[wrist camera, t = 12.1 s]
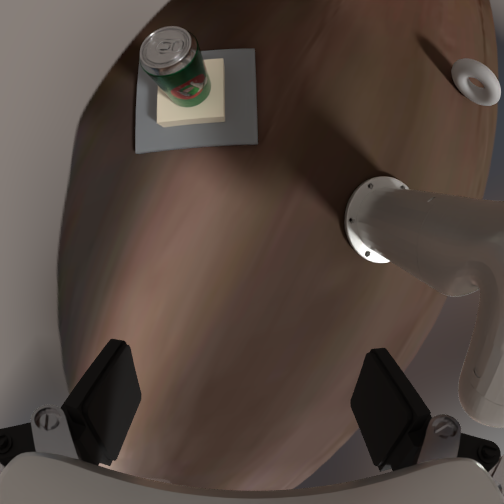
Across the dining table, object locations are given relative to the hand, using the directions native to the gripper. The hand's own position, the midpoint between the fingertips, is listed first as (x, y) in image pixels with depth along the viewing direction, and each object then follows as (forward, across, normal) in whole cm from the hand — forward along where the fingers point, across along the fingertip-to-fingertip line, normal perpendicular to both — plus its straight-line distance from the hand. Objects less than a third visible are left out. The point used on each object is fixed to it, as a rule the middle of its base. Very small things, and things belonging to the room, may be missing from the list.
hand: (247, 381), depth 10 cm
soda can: (+24, +8, -18) cm, 31 cm away
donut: (+29, -36, -30) cm, 55 cm away
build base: (+28, +8, -18) cm, 34 cm away
